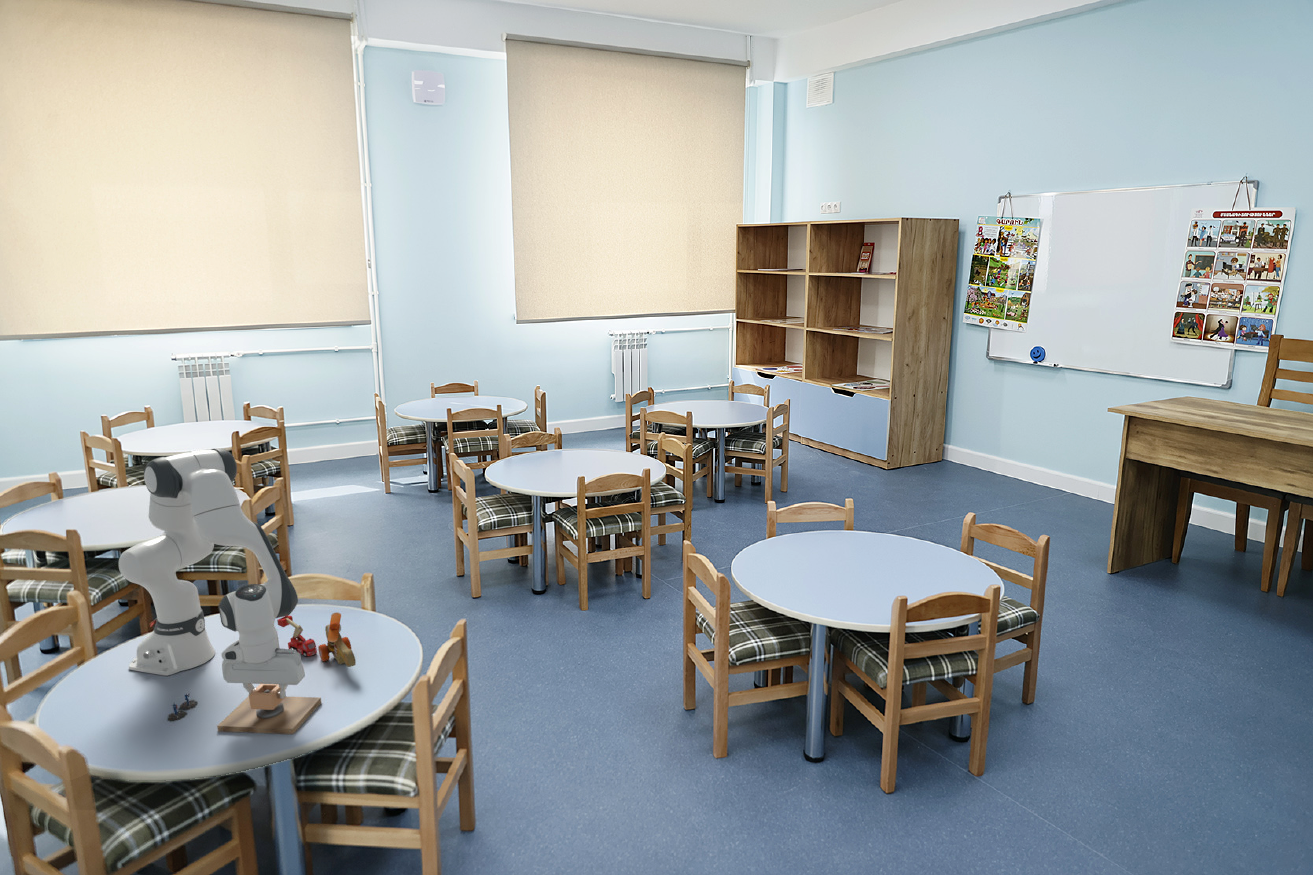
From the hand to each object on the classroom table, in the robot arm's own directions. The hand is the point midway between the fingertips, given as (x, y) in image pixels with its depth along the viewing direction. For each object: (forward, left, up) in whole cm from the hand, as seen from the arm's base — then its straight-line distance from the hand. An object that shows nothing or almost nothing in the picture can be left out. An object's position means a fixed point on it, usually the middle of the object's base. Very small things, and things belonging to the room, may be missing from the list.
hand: (267, 697), depth 210 cm
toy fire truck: (-11, +34, -6) cm, 36 cm away
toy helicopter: (+6, +27, -6) cm, 28 cm away
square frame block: (0, 0, -2) cm, 2 cm away
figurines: (-25, +1, -6) cm, 26 cm away
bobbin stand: (0, 0, -6) cm, 6 cm away
